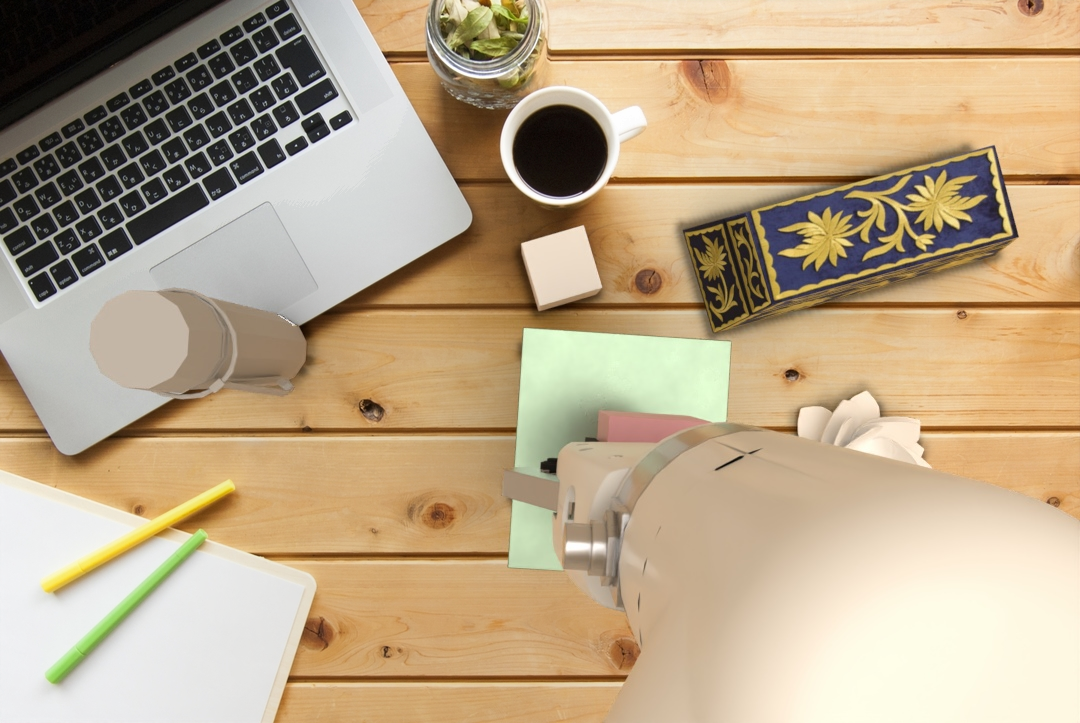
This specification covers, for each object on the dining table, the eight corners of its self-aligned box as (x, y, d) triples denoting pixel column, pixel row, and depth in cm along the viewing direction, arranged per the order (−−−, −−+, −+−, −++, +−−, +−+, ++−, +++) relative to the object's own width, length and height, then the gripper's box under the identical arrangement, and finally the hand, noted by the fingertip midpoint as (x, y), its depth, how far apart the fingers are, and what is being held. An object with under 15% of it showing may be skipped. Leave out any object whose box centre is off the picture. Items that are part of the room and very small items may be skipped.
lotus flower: (767, 398, 73) (811, 397, 64) (905, 387, 75) (966, 384, 66) (780, 543, 72) (827, 562, 63) (920, 528, 74) (983, 544, 65)
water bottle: (218, 348, 72) (55, 335, 47) (278, 295, 72) (148, 254, 47) (280, 418, 72) (150, 442, 47) (340, 365, 72) (242, 361, 47)
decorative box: (682, 230, 73) (704, 210, 64) (968, 152, 74) (1029, 122, 65) (711, 334, 73) (737, 328, 64) (997, 255, 74) (1062, 239, 65)
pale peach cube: (538, 311, 73) (539, 306, 67) (521, 254, 73) (520, 243, 67) (596, 294, 73) (602, 287, 67) (579, 237, 73) (583, 224, 67)
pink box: (682, 525, 40) (705, 547, 35) (591, 519, 40) (601, 540, 35) (689, 415, 40) (712, 421, 35) (598, 409, 40) (608, 415, 35)
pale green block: (654, 512, 73) (717, 580, 49) (513, 503, 72) (507, 568, 48) (664, 351, 73) (732, 340, 49) (524, 342, 73) (523, 327, 49)
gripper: (440, 663, 21) (480, 529, 40) (1015, 696, 22) (792, 548, 40) (457, 407, 22) (489, 390, 40) (1028, 443, 22) (800, 410, 40)
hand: (641, 470), depth 40 cm, fingers closed on pink box, 5 cm apart
